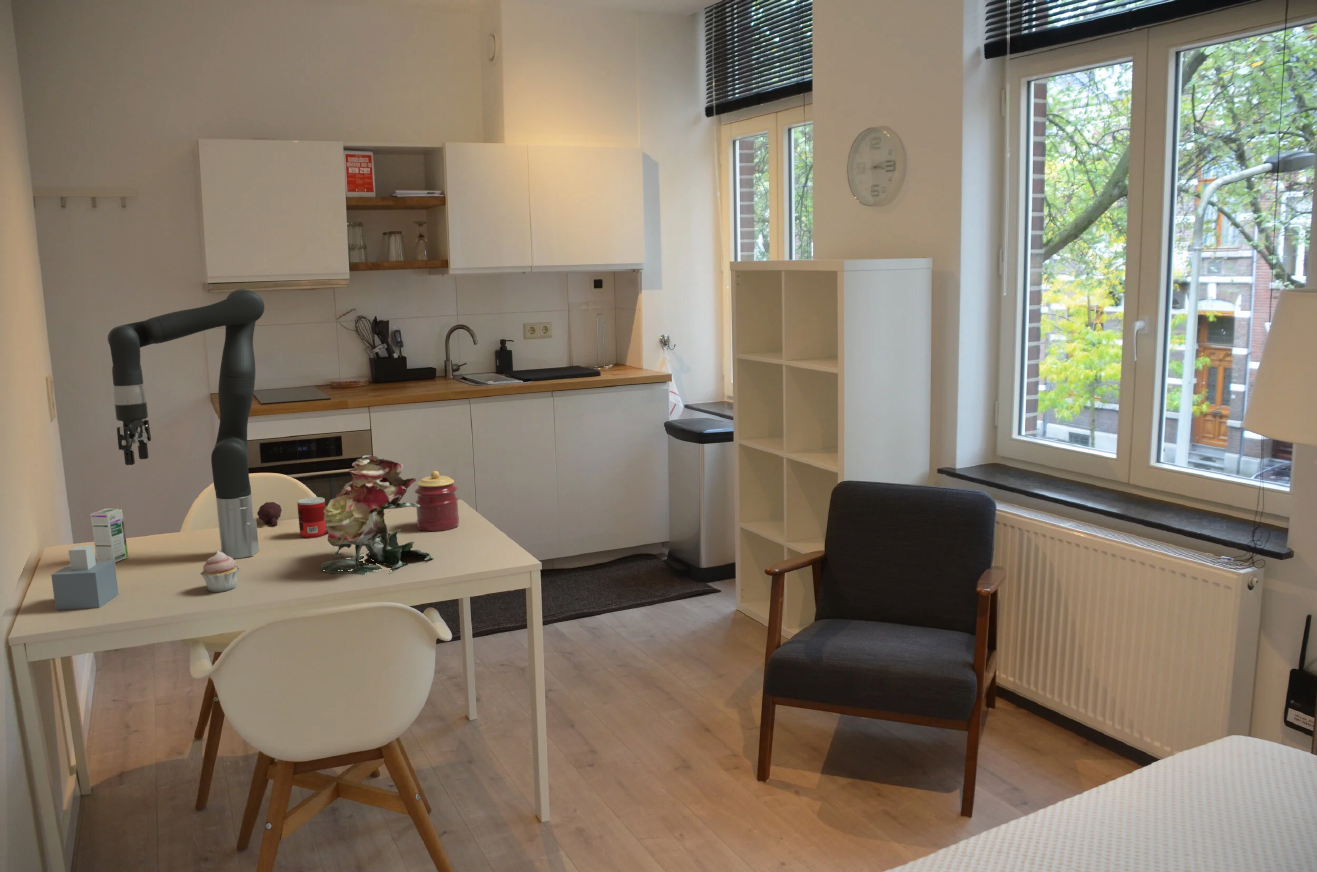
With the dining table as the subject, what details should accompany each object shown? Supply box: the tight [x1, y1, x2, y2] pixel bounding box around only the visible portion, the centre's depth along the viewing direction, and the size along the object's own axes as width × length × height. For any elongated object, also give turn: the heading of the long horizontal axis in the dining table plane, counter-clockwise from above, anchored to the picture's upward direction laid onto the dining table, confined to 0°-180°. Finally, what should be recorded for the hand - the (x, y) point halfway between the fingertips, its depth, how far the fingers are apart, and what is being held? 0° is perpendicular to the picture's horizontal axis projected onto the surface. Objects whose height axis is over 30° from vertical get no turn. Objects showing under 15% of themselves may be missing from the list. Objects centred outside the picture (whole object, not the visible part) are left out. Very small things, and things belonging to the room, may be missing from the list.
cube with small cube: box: [50, 544, 119, 611], centre depth 247 cm, size 10×10×14 cm
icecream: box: [256, 501, 283, 527], centre depth 324 cm, size 7×7×15 cm
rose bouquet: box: [320, 454, 434, 576], centre depth 273 cm, size 26×29×30 cm
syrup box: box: [90, 507, 129, 564], centre depth 284 cm, size 6×6×14 cm
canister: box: [414, 470, 460, 532], centre depth 313 cm, size 13×13×18 cm
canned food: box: [296, 496, 327, 539], centre depth 307 cm, size 8×8×11 cm
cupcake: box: [199, 550, 241, 593], centre depth 256 cm, size 9×9×10 cm
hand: (137, 461), depth 269 cm, fingers open, 8 cm apart
